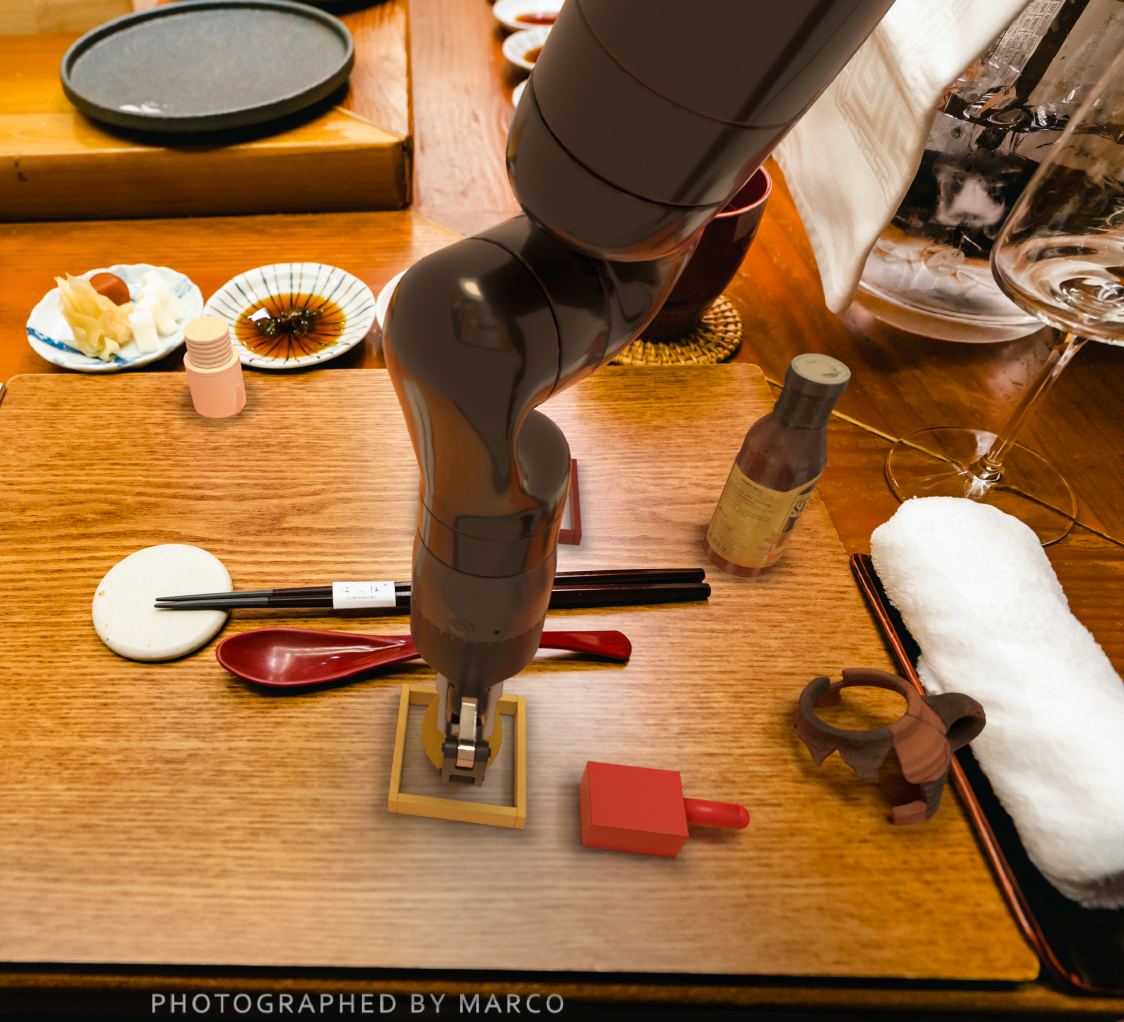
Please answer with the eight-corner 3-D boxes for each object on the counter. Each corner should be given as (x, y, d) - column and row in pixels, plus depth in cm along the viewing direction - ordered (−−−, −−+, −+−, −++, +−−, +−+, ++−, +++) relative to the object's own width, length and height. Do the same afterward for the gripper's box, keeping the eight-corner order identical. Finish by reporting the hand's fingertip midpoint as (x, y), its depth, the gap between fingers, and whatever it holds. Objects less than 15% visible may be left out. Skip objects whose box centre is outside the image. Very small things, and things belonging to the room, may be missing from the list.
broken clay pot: (866, 860, 53) (846, 768, 50) (777, 770, 61) (756, 687, 59) (1034, 789, 52) (1024, 692, 50) (921, 709, 61) (906, 623, 58)
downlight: (268, 405, 88) (257, 328, 81) (219, 436, 84) (203, 358, 77) (222, 377, 92) (208, 301, 85) (174, 405, 88) (154, 328, 81)
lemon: (437, 714, 60) (441, 654, 54) (507, 742, 58) (519, 683, 53) (407, 776, 57) (409, 720, 51) (481, 809, 55) (491, 754, 49)
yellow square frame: (522, 713, 60) (525, 696, 59) (521, 832, 54) (526, 817, 52) (402, 700, 62) (402, 682, 60) (388, 815, 55) (387, 799, 54)
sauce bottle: (773, 590, 68) (874, 406, 54) (697, 572, 70) (775, 389, 55) (775, 537, 72) (868, 353, 58) (702, 520, 74) (776, 338, 60)
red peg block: (729, 805, 55) (747, 779, 52) (741, 870, 52) (761, 846, 49) (577, 786, 56) (587, 760, 53) (580, 849, 53) (591, 824, 50)
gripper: (554, 706, 38) (515, 846, 50) (548, 494, 47) (516, 654, 60) (397, 689, 38) (396, 831, 51) (422, 485, 48) (416, 644, 60)
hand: (461, 735), depth 55 cm, fingers closed on lemon, 5 cm apart
